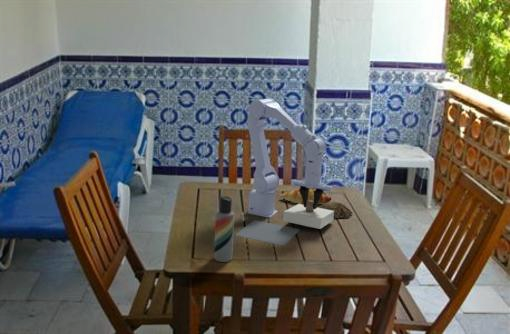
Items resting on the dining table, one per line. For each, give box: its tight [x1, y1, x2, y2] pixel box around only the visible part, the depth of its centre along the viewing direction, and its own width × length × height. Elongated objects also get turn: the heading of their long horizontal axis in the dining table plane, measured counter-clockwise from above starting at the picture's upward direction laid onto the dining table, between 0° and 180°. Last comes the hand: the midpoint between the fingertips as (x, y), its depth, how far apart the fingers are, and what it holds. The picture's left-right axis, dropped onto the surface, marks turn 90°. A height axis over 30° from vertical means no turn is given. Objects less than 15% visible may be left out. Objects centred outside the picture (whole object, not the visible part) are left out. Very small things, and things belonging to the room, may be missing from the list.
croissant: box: [279, 188, 332, 204], centre depth 228 cm, size 21×10×8 cm, turn 85°
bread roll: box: [318, 201, 353, 219], centre depth 216 cm, size 13×12×5 cm
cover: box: [282, 200, 334, 230], centre depth 201 cm, size 14×14×7 cm
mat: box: [234, 219, 301, 247], centre depth 193 cm, size 18×17×1 cm
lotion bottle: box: [213, 195, 235, 263], centre depth 168 cm, size 6×6×20 cm
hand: (310, 207), depth 201 cm, fingers closed on cover, 3 cm apart
